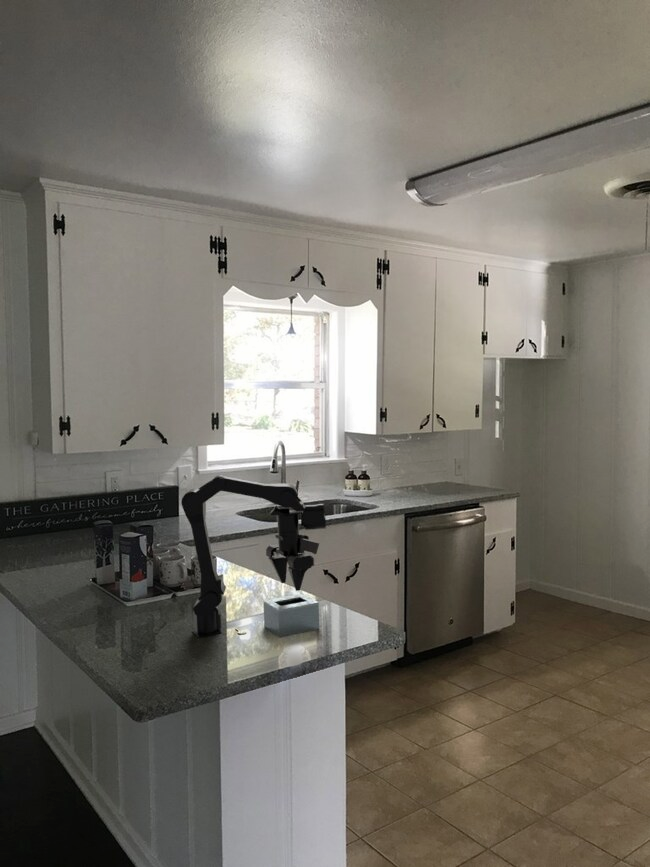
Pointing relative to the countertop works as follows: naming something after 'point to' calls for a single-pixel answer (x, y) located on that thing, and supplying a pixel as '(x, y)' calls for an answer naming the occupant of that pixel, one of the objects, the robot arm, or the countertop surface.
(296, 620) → the box
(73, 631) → the countertop surface
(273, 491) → the robot arm
